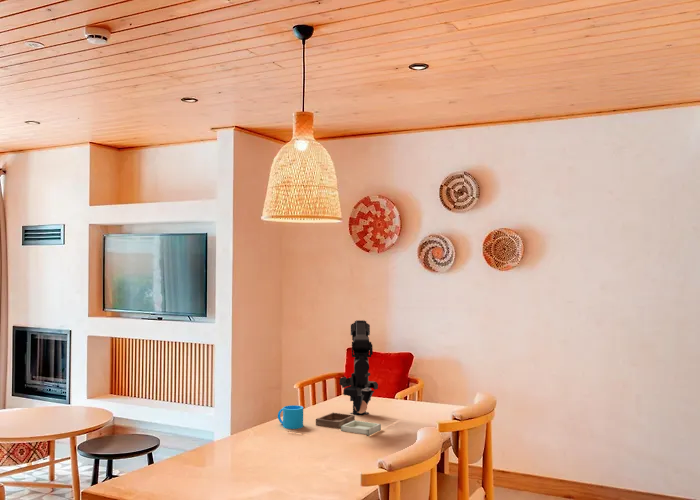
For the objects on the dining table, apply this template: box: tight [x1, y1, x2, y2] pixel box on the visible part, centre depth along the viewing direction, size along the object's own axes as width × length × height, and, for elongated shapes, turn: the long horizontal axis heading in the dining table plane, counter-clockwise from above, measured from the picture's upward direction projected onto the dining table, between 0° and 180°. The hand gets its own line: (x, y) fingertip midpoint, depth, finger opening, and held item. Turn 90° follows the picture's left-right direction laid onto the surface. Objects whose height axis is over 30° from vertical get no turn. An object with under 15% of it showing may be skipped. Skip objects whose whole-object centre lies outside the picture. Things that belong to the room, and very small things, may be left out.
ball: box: [355, 400, 368, 413], centre depth 243 cm, size 5×5×5 cm
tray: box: [340, 419, 382, 437], centre depth 243 cm, size 11×12×2 cm
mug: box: [277, 404, 304, 430], centre depth 249 cm, size 12×8×8 cm
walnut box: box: [315, 412, 356, 429], centre depth 253 cm, size 14×11×3 cm
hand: (361, 410), depth 243 cm, fingers closed on ball, 5 cm apart
